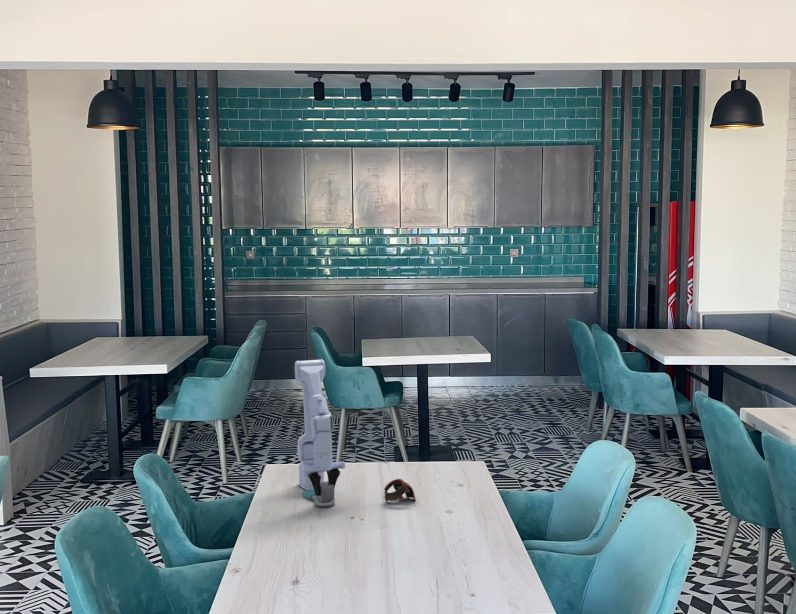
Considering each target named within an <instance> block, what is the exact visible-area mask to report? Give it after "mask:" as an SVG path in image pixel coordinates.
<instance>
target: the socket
mask: <svg viewBox="0 0 796 614" xmlns="http://www.w3.org/2000/svg"><path fill="white" fill-rule="evenodd" d="M316 499H317V500H319V501H320V502H326V501H331V500H334V499H335V488H334V484H332V483H330V482H328V481H324V482H321V483H320V496H317V495H316Z"/></svg>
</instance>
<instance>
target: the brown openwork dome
mask: <svg viewBox="0 0 796 614" xmlns="http://www.w3.org/2000/svg"><path fill="white" fill-rule="evenodd" d="M391 487H393V488H394V491H392V492H388V491H389V489H390V488H391ZM383 493H384V500H385V503H386V502H387V503H388V502H390V501H391V502H393V501H396V500H398V499H404V497H403V496H404V495H405V498H406V497H410V498H411V499H413V501H417V499H416V495H415V491H414V489H413V488H412V486H411V485H410V483H408V482H406V481H404V480H403V479H402V478H395V479H393V480H391V481H390V482H388V483H387V484H386V485H385V486H384V491H383Z"/></svg>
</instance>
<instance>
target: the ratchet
mask: <svg viewBox="0 0 796 614" xmlns="http://www.w3.org/2000/svg"><path fill="white" fill-rule="evenodd" d="M304 496H305V497H304ZM302 497H304V498H306V499H307V498H308V500H309V499H310V500H309V501H312V502H313V503H314V506H315V508H318V509H319V508H320V509H326V508H327V509H328V508H332V507H334V506H335V503H336V499H335V498H334V500H331V501H326V502H320V501H319V500H317V499H316V495H315V491H314V490H306V489H305V490H302Z"/></svg>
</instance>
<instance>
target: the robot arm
mask: <svg viewBox="0 0 796 614" xmlns="http://www.w3.org/2000/svg"><path fill="white" fill-rule="evenodd" d="M325 375H326V362H325V360H323V358H320V359H309V360H307V359H306V360H296V361H295V362H294V379H295V384H296V385H298V386H300V387H301V390H302V401H303V402H302V403H303V418H304V421H303V422H304V433H303V434H302V435H301V436H300V437H299V438H298V440H297V447H296V449H297V458H298V460H299V462H300V463H299V465H298V482H297V483H296V485H297V484H298V485H299V486H298V485H297V486H298V487H300V486H301V488H302V489H303V490H305V491H306V490H313V491H315V495H317V496H320V483H321V482H325V472H326V474H327V480H328V482H330V483H332V484H334V489H335V488H336V483H337V481H338V479H339V477H340V474H341V471H340V470H339V469H346V463H345V462H344V461H333V446H332V445H333V443H332V432H333V431H334V420H333V415H332V413H331V411H330V410H329V406H328V402H327V398H326V396H324V395H323V393H322V383H323V381H324V378H325Z"/></svg>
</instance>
